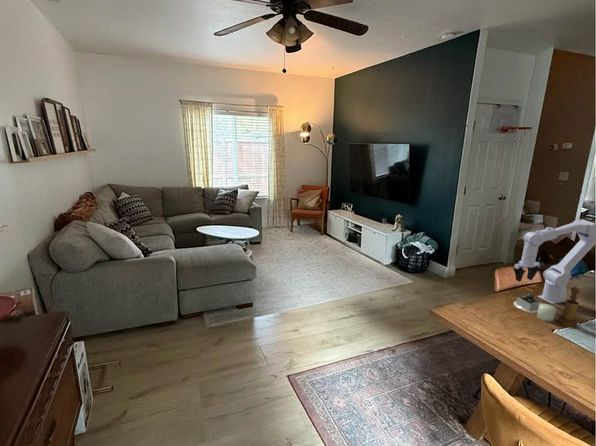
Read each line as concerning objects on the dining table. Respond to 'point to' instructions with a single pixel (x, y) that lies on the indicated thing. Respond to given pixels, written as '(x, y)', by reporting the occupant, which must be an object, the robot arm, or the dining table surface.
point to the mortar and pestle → (570, 310)
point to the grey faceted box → (526, 305)
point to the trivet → (524, 309)
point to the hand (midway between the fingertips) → (523, 280)
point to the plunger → (530, 297)
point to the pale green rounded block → (546, 312)
